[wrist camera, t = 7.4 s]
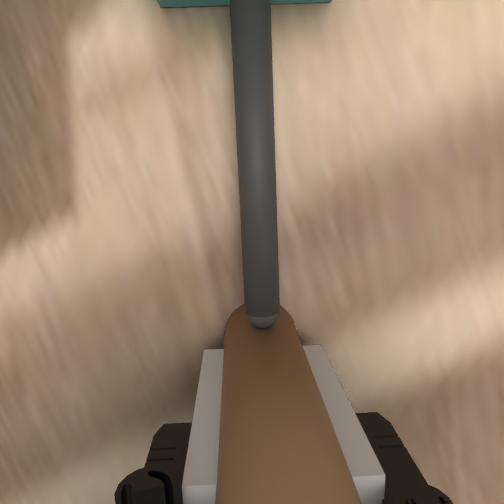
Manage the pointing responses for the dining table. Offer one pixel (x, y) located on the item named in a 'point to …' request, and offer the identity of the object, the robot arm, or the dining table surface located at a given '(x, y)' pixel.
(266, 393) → the teal block-headed stick
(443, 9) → the dining table surface
